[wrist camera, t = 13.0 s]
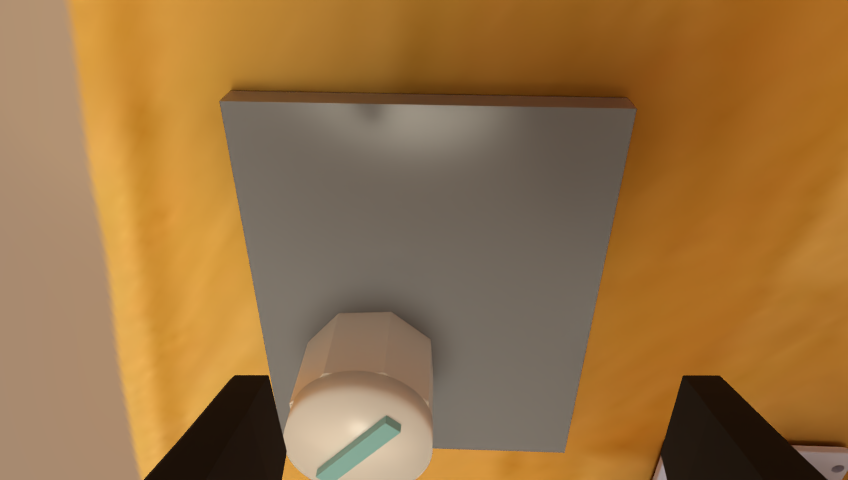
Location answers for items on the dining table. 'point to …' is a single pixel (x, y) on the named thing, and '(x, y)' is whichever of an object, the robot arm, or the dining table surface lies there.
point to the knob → (363, 401)
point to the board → (436, 239)
